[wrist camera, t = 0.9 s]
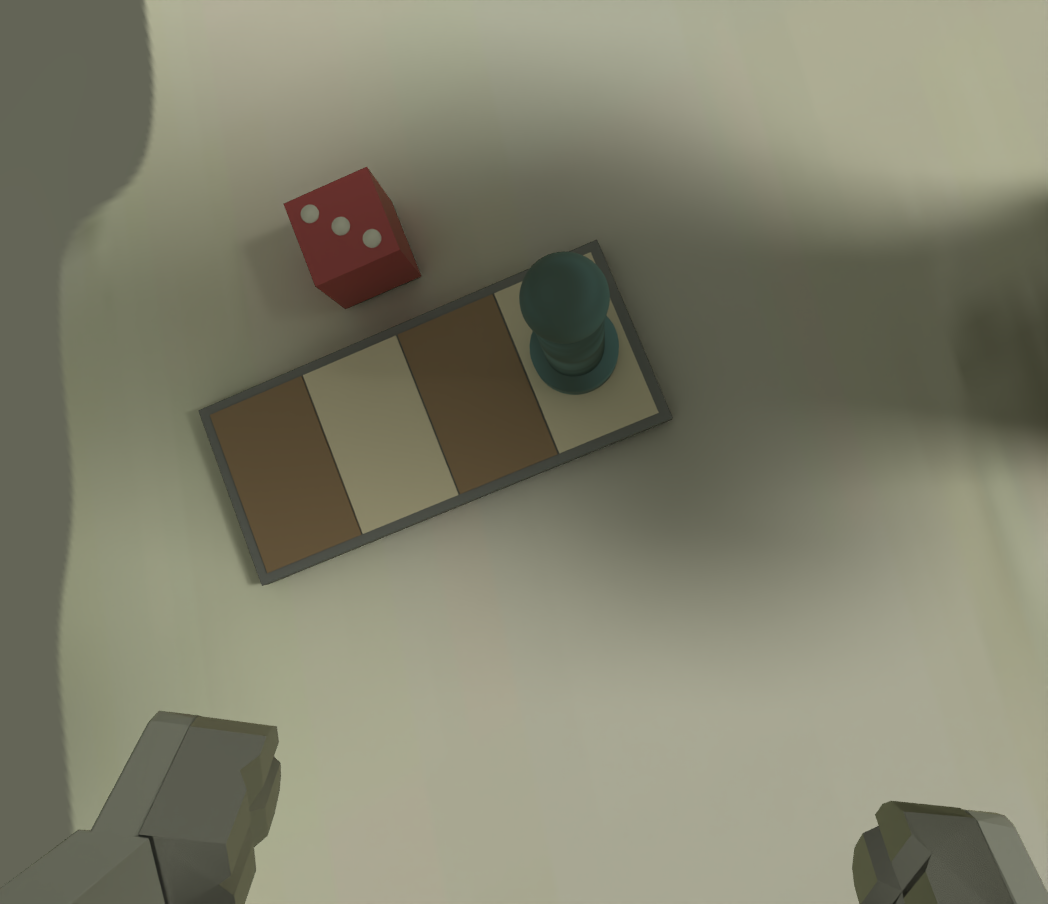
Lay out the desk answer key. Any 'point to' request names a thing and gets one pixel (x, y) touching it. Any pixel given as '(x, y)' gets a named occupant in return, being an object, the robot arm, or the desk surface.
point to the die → (352, 239)
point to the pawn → (569, 322)
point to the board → (414, 427)
